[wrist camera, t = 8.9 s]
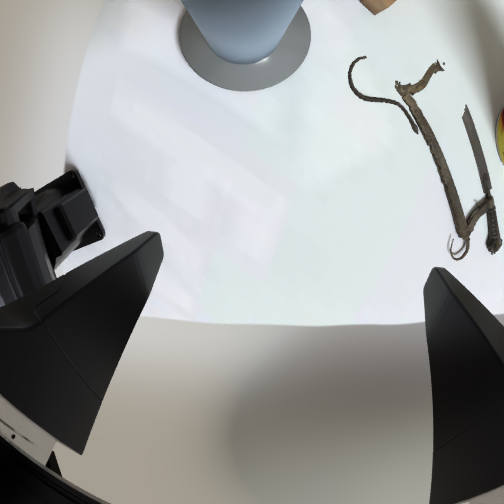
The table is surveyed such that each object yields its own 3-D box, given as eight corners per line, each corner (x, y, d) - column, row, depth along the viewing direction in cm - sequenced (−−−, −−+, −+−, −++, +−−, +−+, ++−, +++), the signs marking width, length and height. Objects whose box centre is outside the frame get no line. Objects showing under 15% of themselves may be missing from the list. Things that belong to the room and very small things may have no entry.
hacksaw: (497, 244, 25) (505, 250, 24) (432, 291, 28) (438, 299, 26) (429, 27, 16) (439, 24, 14) (335, 67, 18) (341, 65, 17)
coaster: (202, 107, 19) (201, 107, 19) (167, 5, 15) (165, 2, 15) (324, 75, 18) (326, 74, 18) (286, -27, 14) (287, -30, 14)
